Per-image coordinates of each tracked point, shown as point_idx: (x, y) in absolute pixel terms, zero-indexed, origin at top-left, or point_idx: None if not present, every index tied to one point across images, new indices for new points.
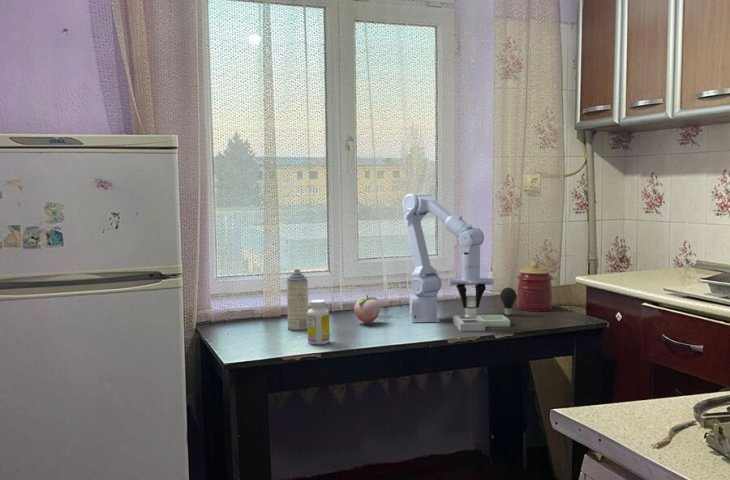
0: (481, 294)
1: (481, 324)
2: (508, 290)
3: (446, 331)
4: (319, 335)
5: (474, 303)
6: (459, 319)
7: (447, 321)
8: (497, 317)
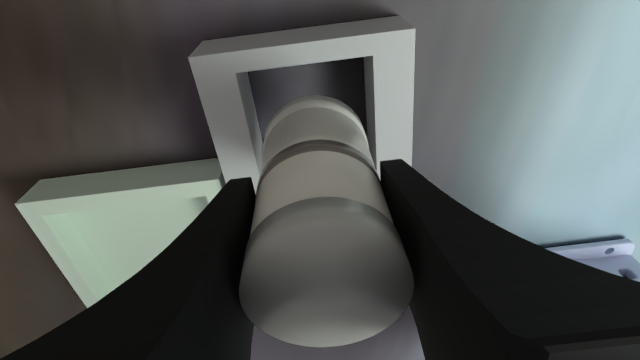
0: (135, 284)
1: (223, 51)
2: None
3: (506, 17)
4: None
5: (278, 184)
6: None
7: None
8: None
